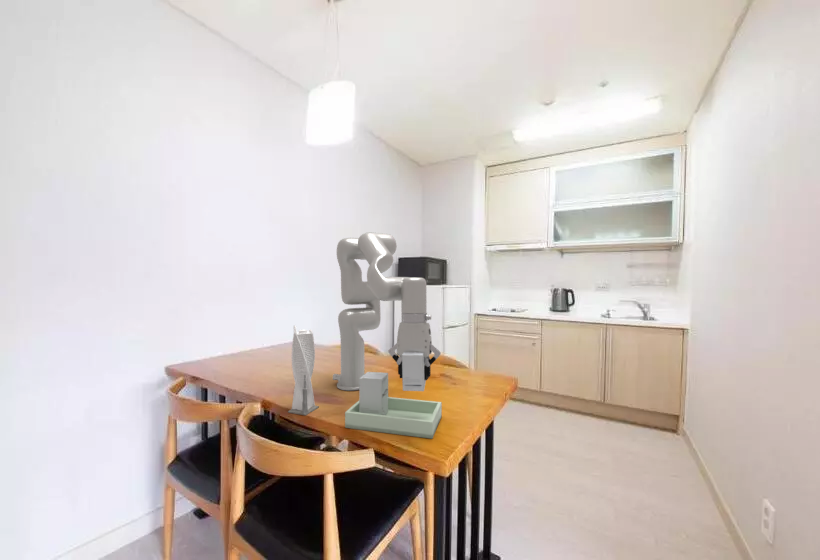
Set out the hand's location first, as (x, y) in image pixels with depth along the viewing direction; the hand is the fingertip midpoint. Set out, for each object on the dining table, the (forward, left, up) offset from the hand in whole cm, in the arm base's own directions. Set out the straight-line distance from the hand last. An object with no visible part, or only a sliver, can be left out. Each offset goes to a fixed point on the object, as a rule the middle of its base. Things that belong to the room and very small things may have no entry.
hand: (414, 377), depth 98 cm
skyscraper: (-39, +2, -14) cm, 42 cm away
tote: (-6, 0, -14) cm, 15 cm away
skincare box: (0, 0, -3) cm, 3 cm away
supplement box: (-13, 0, -13) cm, 19 cm away
